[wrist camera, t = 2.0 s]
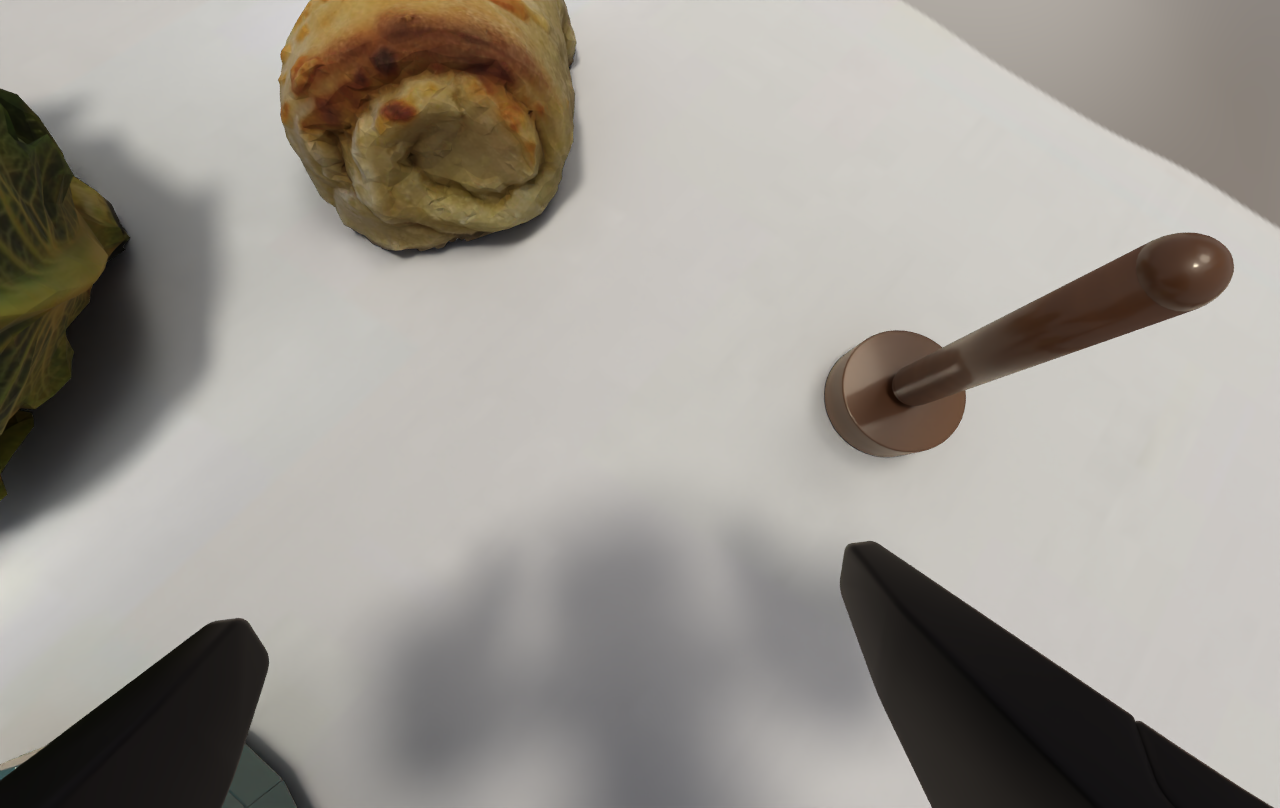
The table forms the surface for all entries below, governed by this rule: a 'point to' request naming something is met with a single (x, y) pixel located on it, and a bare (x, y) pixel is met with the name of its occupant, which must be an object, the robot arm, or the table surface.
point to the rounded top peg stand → (1013, 344)
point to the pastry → (430, 113)
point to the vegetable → (42, 265)
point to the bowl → (255, 791)
